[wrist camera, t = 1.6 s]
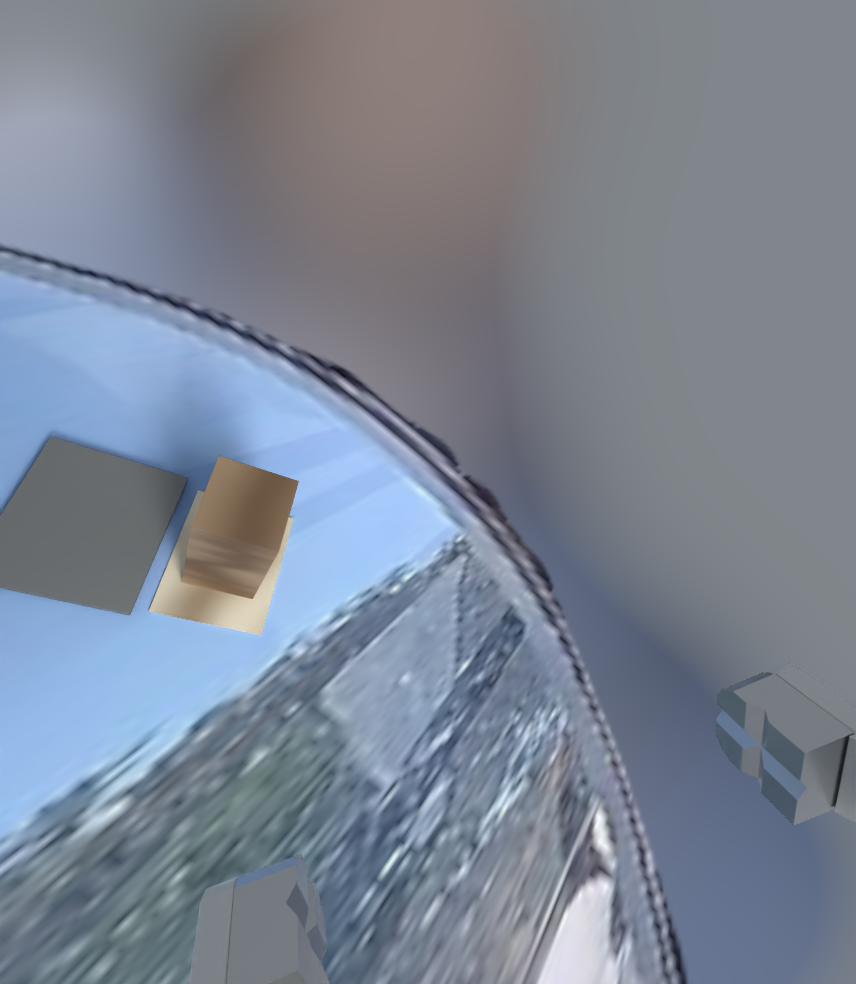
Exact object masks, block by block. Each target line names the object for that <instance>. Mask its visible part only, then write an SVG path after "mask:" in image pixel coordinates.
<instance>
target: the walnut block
mask: <svg viewBox="0 0 856 984" xmlns="http://www.w3.org/2000/svg"><path fill="white" fill-rule="evenodd" d="M298 482H299V481H297V480H293V479H290V478H287V477H284V476H281V475H278V474H275V473H272V472H268V471H265V470H262V469H259V468H256V467H253V466H250V465H247V464H243V463H240V462H237V461H234V460H231V459H228V458H225V457H222V456H219V457H218V459H217V462H216V464H215V467H214V469H213V472H212V475H211V477H210V480H209V482H208V485H207V487H206V490H205V492H204V495H203V497H202V500H201V502H200V505H199V507H198V510H197V512H196V515H195V517H194V520H193V522H192V525H191V528H190V534H189V540H188V546H187V553H186V559H185V565H184V571H183V578H182V583H186V584H191V585H195V586H199V587H203V588H207V589H212V590H216V591H220V592H224V593H228V594H233V595H237V596H241V597H245V598H249V599H253V598H254V596H255V594H256V592H257V590H258V589H259V587H260V585H261V583H262V581H263V580H264V578H265V576H266V574H267V572H268V570H269V569H270V567H271V565H272V563H273V561H274V559H275V558H276V556H277V554H278V552H279V550H280V546H281V543H282V539H283V536H284V532H285V528H286V525H287V521H288V518H289V514H290V511H291V507H292V504H293V500H294V497H295V493H296V490H297V486H298Z"/></svg>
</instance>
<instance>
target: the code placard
mask: <svg viewBox="0 0 856 984" xmlns="http://www.w3.org/2000/svg"><path fill="white" fill-rule="evenodd" d="M203 495H204V492H203V491H200V490H198V491H197V494H196V496H195V499H194V501H193V503H192V506H191V508H190V511H189V513H188V516H187V518H186V521H185V523H184V526H183V528H182V530H181V533H180V535H179V538H178V540H177V543H176V545H175V548H174V550H173V553H172V555H171V557H170V560H169V562H168V565H167V567H166V570H165V572H164V575H163V577H162V579H161V582H160V584H159V587H158V589H157V592H156V594H155V597H154V599H153V602H152V604H151V606H150V609H149V611H150V612H155V613H160V614H164V615H169V616H173V617H178V618H183V619H187V620H192V621H196V622H201V623H206V624H210V625H215V626H219V627H224V628H229V629H233V630H238V631H242V632H247V633H252V634H256V635H262V631H263V628H264V624H265V621H266V617H267V613H268V610H269V606H270V602H271V599H272V595H273V592H274V588H275V584H276V581H277V577H278V573H279V570H280V566H281V563H282V559H283V555H284V552H285V548H286V544H287V541H288V537H289V534H290V530H291V526H292V523H293V519H294V518H291V517H289V518H288V521H287V525H286V528H285V532H284V536H283V539H282V543H281V546H280V550H279V552H278V554H277V556H276V558H275V559H274V561H273V563H272V565H271V567H270V569H269V570H268V572H267V574H266V576H265V578H264V580H263V581H262V583H261V585H260V587H259V589H258V590H257V592H256V594H255V596H254V598H253V599H249V598H245V597H241V596H237V595H233V594H228V593H224V592H220V591H216V590H212V589H207V588H203V587H199V586H195V585H191V584H186V583H182V578H183V571H184V565H185V559H186V553H187V546H188V540H189V534H190V528H191V525H192V522H193V520H194V517H195V515H196V512H197V510H198V507H199V505H200V502H201V500H202V497H203Z"/></svg>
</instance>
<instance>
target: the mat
mask: <svg viewBox="0 0 856 984" xmlns="http://www.w3.org/2000/svg"><path fill="white" fill-rule="evenodd" d="M187 479H188V477H184V476H181V475H178V474H174V473H171V472H168V471H164V470H161V469H158V468H154V467H151V466H148V465H144V464H141V463H138V462H134V461H131V460H128V459H124V458H121V457H118V456H114V455H111V454H108V453H104V452H101V451H98V450H95V449H91V448H88V447H85V446H81V445H78V444H75V443H71V442H68V441H65V440H61V439H58V438H55V437H50V438H49V440H48V442H47V443H46V445H45V446H44V448H43V449H42V451H41V453H40V454H39V456H38V457H37V459H36V460H35V462H34V463H33V465H32V467H31V468H30V470H29V471H28V473H27V474H26V476H25V478H24V479H23V481H22V482H21V484H20V485H19V487H18V489H17V490H16V492H15V493H14V495H13V496H12V498H11V499H10V501H9V503H8V504H7V506H6V507H5V509H4V510H3V512H2V514H1V515H0V588H3V589H8V590H13V591H18V592H22V593H27V594H32V595H36V596H41V597H46V598H50V599H55V600H60V601H65V602H69V603H74V604H79V605H83V606H88V607H93V608H98V609H102V610H107V611H112V612H116V613H121V614H126V615H130V614H131V612H132V609H133V607H134V605H135V602H136V600H137V598H138V595H139V593H140V590H141V588H142V586H143V583H144V581H145V579H146V576H147V574H148V572H149V569H150V567H151V565H152V562H153V560H154V558H155V555H156V553H157V551H158V548H159V546H160V544H161V541H162V539H163V537H164V534H165V532H166V530H167V527H168V525H169V522H170V520H171V518H172V515H173V513H174V511H175V508H176V506H177V504H178V501H179V499H180V497H181V494H182V492H183V490H184V487H185V485H186V483H187Z"/></svg>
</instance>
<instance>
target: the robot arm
mask: <svg viewBox="0 0 856 984" xmlns="http://www.w3.org/2000/svg"><path fill="white" fill-rule="evenodd" d="M717 696H718V697H717V705H718V706H719V707H720V708H721V709H722V710H723V711H722V712H721V714H720V715H719V717H718V719H717V720H716V736H717V738H718V741H719V743H720V745H721V748H722V750H723V751H724V752H725V754H726V755H727V757H728V758H729V760H730V761H731V762H732V763H733V764H734V765H735V766H736V767H737V768H738V769H739V770H740V771H741V772H743V773H745V774H748V775H750V776H752V777H755V778H757V779H758V781H759V786H760V790H761V793H762V794H763V795H764V796H765V797H766V798H767V799H768V800H769V801H770V802H771V803H772V804H773V805H774V806H775V807H776V808H777V809H778V810H779V811H780V812H781V813H782V814H783V815H784V816H785V817H786V818H787V819H788V820H789V821H790V822H791V823H792V824H793V825H796V824H798V823H801V822H803V821H806V820H808V819H810V818H813V817H815V816H818V815H820V814H823V813H825V812H828V811H830V810H832V809H835V812H836V813H838V814H840V815H842V816H844V817H846V818H848V819H850V820H852V821H853V822H855V823H856V706H854V705H853V704H851V703H850V702H849V701H847V700H846V699H844V698H843V697H841V696H840V695H839V694H837V693H836V692H834V691H833V690H832V689H830V688H829V687H827V686H826V685H824V684H823V683H822V682H820V681H819V680H817V679H816V678H814V677H813V676H811V675H810V674H809V673H807V672H806V671H804V670H803V669H802V668H800V667H798V666H796V665H793V664H790V663H788V664H784V665H781V666H779V667H776V668H774V669H772V670H769V671H767V672H762V673H759V674H757V675H755V676H752V677H750V678H747V679H745V680H742V681H740V682H738V683H735V684H733V685H730V686H728V687H725V688H723V689H721V691H720V692H719V693H718V695H717ZM326 948H327V943H326V931H325V922H324V916H323V910H322V904H321V901H320V897H319V894H318V891H317V888H316V886H315V883H314V882H312V881H309V880H307V865H306V863H305V861H304V859H303V857H302V855H301V854H299V855H296V856H294V857H291V858H288V859H285V860H283V861H280V862H277V863H275V864H272V865H269V866H267V867H264V868H261V869H258V870H256V871H253V872H250V873H248V874H245V875H242V876H240V877H236V878H233V879H231V880H228V881H226V882H223V883H221V884H218V885H215V886H213V887H210V888H208V889H206V890H205V892H204V895H203V898H202V900H201V903H200V909H199V916H198V923H197V930H196V937H195V944H194V952H193V959H192V966H191V973H190V980H189V984H329V980H328V978H327V976H326V973H325V971H324V969H323V967H322V965H321V960H322V958H323V955H324V953H325V951H326Z"/></svg>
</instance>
